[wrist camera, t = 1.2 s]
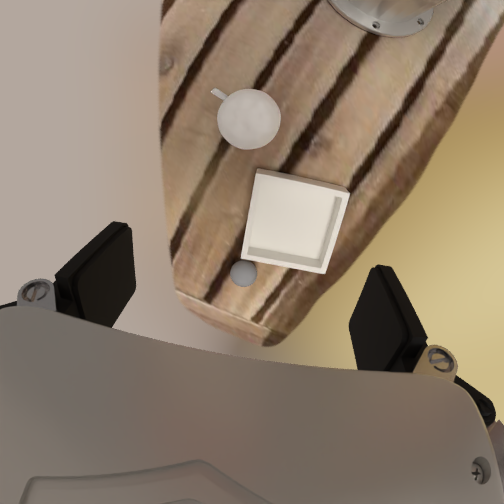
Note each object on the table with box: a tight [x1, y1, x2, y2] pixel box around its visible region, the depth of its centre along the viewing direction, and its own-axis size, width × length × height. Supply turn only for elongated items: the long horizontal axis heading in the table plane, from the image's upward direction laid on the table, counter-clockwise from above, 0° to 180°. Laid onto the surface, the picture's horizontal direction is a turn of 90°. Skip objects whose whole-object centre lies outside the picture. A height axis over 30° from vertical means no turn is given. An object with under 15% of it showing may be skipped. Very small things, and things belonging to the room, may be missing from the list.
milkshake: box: [211, 88, 281, 149], centre depth 22 cm, size 4×5×10 cm
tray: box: [241, 168, 350, 274], centre depth 30 cm, size 9×9×2 cm
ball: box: [230, 260, 257, 287], centre depth 33 cm, size 3×3×3 cm
